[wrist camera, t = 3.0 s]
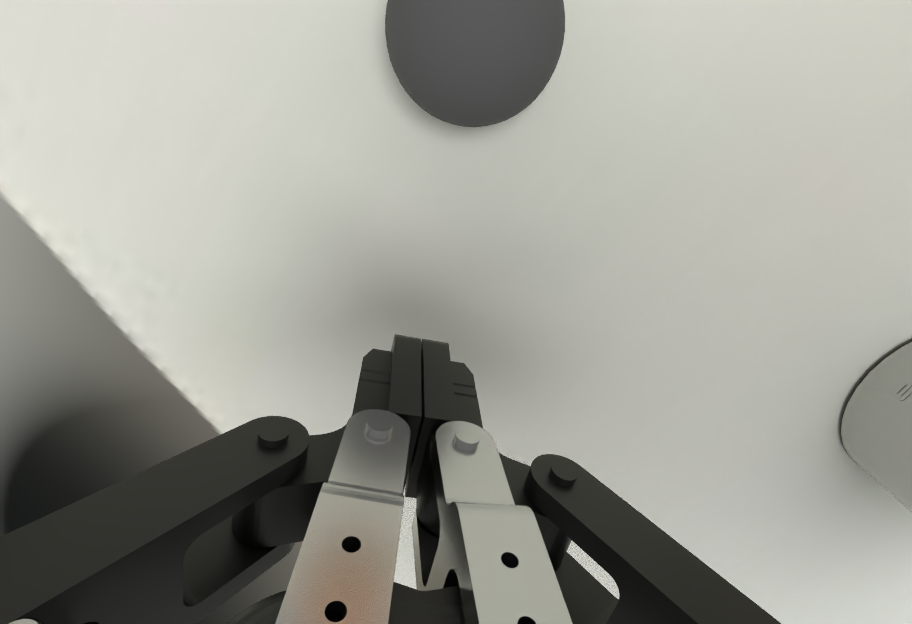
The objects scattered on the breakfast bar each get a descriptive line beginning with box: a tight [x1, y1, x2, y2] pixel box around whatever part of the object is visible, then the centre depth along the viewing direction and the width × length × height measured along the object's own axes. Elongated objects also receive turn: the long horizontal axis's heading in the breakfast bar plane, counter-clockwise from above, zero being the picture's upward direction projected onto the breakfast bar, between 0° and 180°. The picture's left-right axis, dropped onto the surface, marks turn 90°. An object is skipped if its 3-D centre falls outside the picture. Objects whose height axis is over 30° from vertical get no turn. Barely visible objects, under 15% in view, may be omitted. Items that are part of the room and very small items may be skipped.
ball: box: [385, 0, 565, 127], centre depth 16 cm, size 6×6×6 cm
